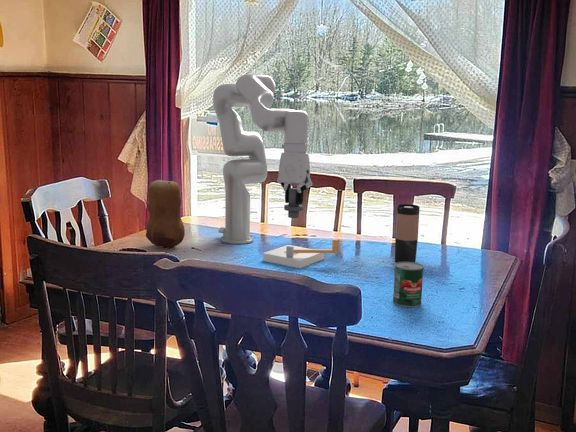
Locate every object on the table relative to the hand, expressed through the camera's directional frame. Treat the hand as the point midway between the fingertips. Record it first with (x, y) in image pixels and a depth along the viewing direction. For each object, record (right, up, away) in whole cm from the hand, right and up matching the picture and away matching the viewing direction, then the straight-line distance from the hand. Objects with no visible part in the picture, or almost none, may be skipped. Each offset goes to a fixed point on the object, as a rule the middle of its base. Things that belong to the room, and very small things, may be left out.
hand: (293, 202), depth 211 cm
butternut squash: (-47, -16, +22) cm, 54 cm away
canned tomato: (+32, -29, -33) cm, 54 cm away
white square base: (0, -21, +4) cm, 21 cm away
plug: (0, -5, +1) cm, 5 cm away
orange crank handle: (+6, -18, -3) cm, 19 cm away
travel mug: (+39, -21, +9) cm, 45 cm away
